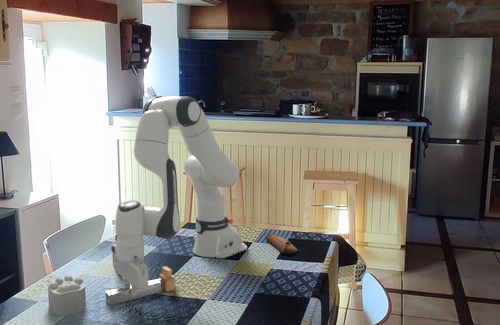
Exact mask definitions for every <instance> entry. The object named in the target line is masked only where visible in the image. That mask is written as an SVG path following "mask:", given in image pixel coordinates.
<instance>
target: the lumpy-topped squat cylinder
mask: <svg viewBox="0 0 500 325" xmlns="http://www.w3.org/2000/svg"><path fill="white" fill-rule="evenodd" d="M47 291H48V292H47V295H48V308H49V311H50V312H51V314H52V315H54V316H56V317H63V316H67V315H68V316H69V315H72V314H77V313H81V312H83V311H85V310H86V308H87V303H86V302H87V301H86V300H87V299H86V297H87V296H86V285H85V283H84V281H83V279H82V277H79V276H77V277H74V276H72V275H70V274H67V275H64V276H58V277H56V278H55V279H53V280H51V281H50V282H49V283H48V285H47Z"/></svg>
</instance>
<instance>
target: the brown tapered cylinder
mask: <svg viewBox="0 0 500 325" xmlns="http://www.w3.org/2000/svg"><path fill="white" fill-rule="evenodd" d="M265 240H266V242H268V243H270V245H272V246H274V247H275V249H277V250H278V251H279V252H280V253H281V254H282V253H283V255H284V253H290V252H295V251H297V250H298V248H297V247H296V246H294V245H293V244H292V242H290V241H289V240H288V239H286V238H284V237H282V236H280V235H278V234H273V233H269V234H268V235H266V238H265Z"/></svg>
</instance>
